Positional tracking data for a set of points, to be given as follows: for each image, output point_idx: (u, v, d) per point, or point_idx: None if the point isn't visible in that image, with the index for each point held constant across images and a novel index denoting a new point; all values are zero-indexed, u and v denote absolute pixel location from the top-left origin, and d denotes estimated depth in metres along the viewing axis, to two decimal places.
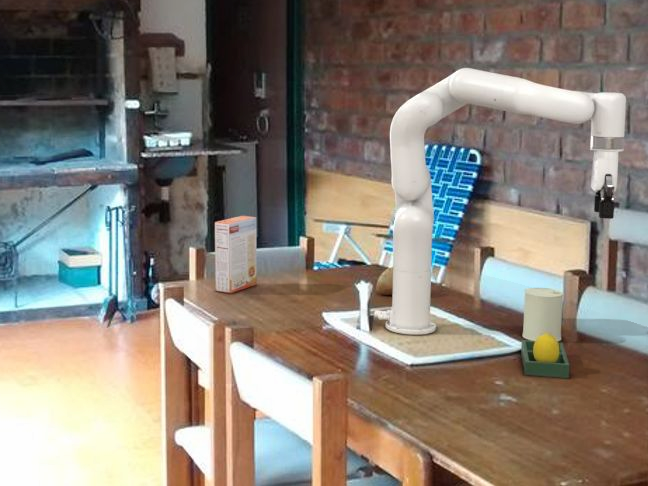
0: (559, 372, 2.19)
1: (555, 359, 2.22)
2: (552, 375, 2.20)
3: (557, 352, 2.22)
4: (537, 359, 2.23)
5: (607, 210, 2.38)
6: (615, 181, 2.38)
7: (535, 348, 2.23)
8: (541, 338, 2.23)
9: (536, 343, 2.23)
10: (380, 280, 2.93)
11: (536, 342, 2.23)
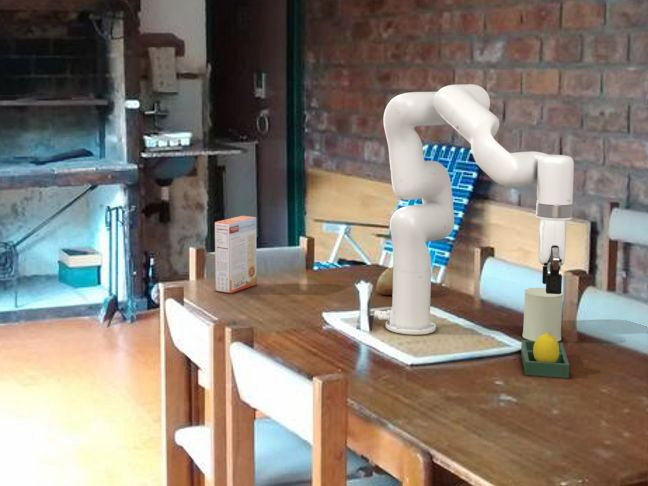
0: (559, 372, 2.19)
1: (555, 359, 2.22)
2: (552, 375, 2.20)
3: (557, 352, 2.22)
4: (537, 359, 2.23)
5: (554, 285, 2.17)
6: (562, 253, 2.16)
7: (535, 348, 2.23)
8: (541, 338, 2.23)
9: (536, 343, 2.23)
10: (380, 280, 2.93)
11: (536, 342, 2.23)
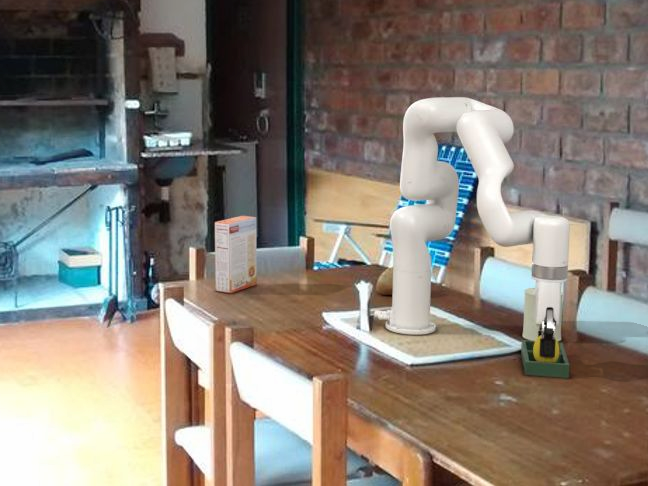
0: (559, 372, 2.19)
1: (555, 359, 2.22)
2: (552, 375, 2.20)
3: (557, 352, 2.22)
4: (537, 359, 2.23)
5: (548, 349, 2.20)
6: (557, 315, 2.18)
7: (535, 348, 2.23)
8: None
9: (536, 343, 2.23)
10: (380, 280, 2.93)
11: (536, 342, 2.23)
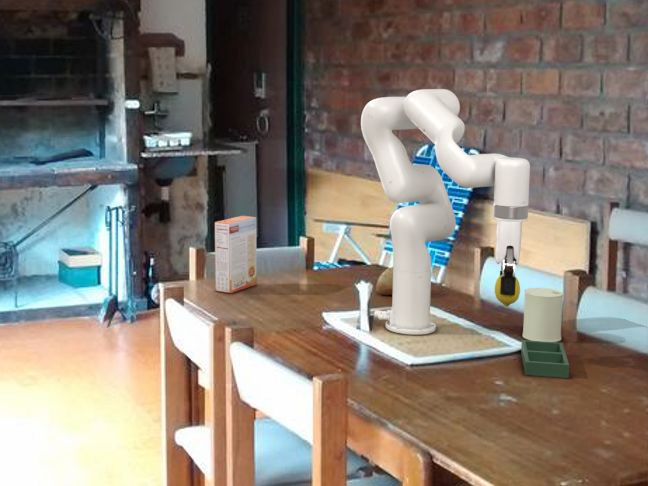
0: (559, 372, 2.19)
1: (515, 297, 2.27)
2: (552, 375, 2.20)
3: (517, 290, 2.27)
4: (498, 297, 2.29)
5: (508, 287, 2.25)
6: (517, 253, 2.23)
7: (496, 287, 2.29)
8: None
9: (497, 282, 2.29)
10: (380, 280, 2.93)
11: (497, 281, 2.29)
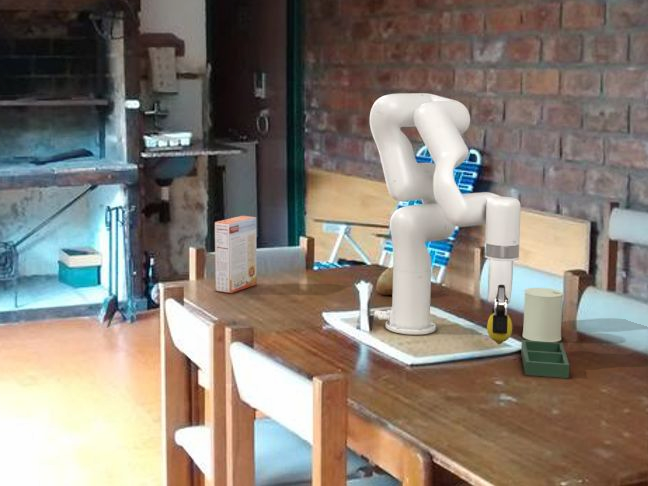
0: (559, 372, 2.19)
1: (508, 335, 2.30)
2: (552, 375, 2.20)
3: (510, 328, 2.29)
4: (491, 335, 2.31)
5: (500, 325, 2.27)
6: (509, 292, 2.25)
7: (489, 325, 2.31)
8: None
9: (490, 320, 2.31)
10: (380, 280, 2.93)
11: (490, 319, 2.31)
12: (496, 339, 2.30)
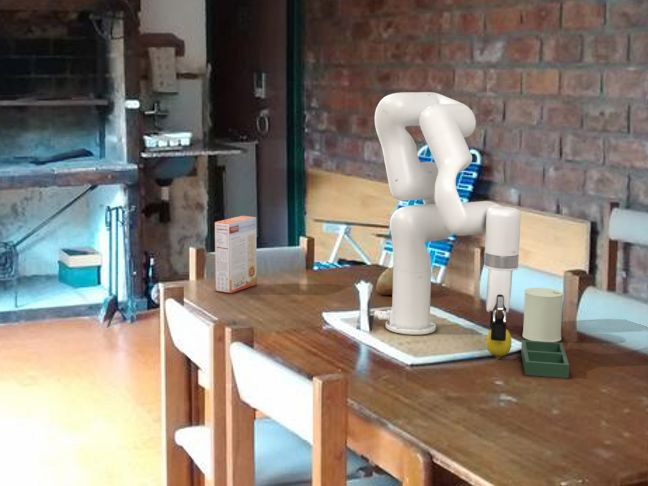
0: (559, 372, 2.19)
1: (507, 350, 2.30)
2: (552, 375, 2.20)
3: (509, 343, 2.30)
4: (490, 350, 2.31)
5: (499, 332, 2.26)
6: (507, 302, 2.26)
7: (488, 339, 2.31)
8: None
9: (489, 335, 2.31)
10: (380, 280, 2.93)
11: (489, 334, 2.31)
12: (495, 354, 2.31)
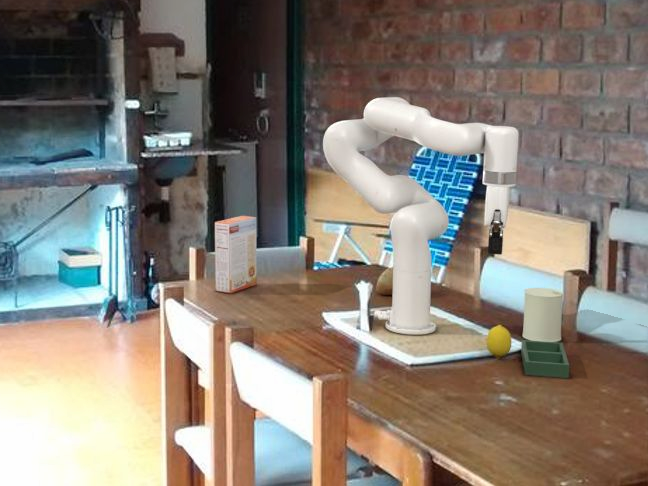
0: (559, 372, 2.19)
1: (507, 350, 2.30)
2: (552, 375, 2.20)
3: (509, 343, 2.30)
4: (490, 350, 2.31)
5: (495, 246, 2.35)
6: (504, 217, 2.34)
7: (488, 339, 2.31)
8: (493, 330, 2.31)
9: (489, 335, 2.31)
10: (380, 280, 2.93)
11: (489, 334, 2.31)
12: (495, 354, 2.31)
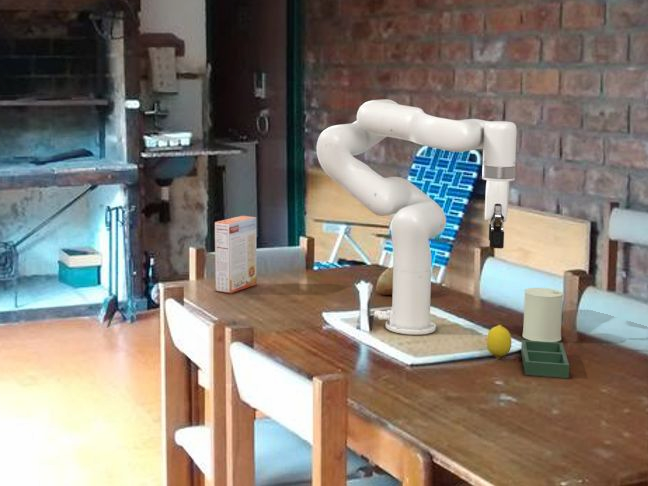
0: (559, 372, 2.19)
1: (507, 350, 2.30)
2: (552, 375, 2.20)
3: (509, 343, 2.30)
4: (490, 350, 2.31)
5: (497, 240, 2.37)
6: (505, 211, 2.36)
7: (488, 339, 2.31)
8: (493, 330, 2.31)
9: (489, 335, 2.31)
10: (380, 280, 2.93)
11: (489, 334, 2.31)
12: (495, 354, 2.31)
